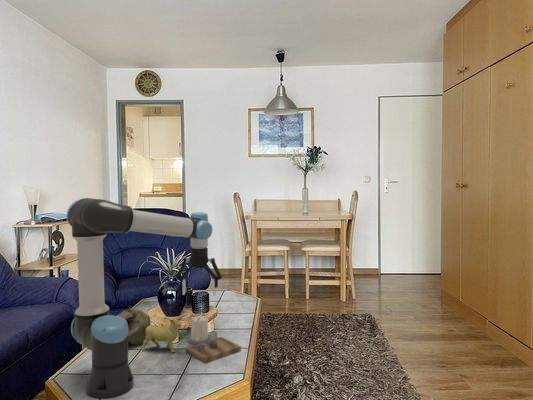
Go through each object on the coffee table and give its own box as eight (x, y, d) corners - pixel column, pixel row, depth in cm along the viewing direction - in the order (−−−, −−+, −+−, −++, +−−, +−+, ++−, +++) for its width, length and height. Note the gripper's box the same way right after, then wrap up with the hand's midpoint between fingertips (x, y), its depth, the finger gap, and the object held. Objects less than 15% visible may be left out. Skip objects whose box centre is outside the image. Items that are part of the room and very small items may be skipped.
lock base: (205, 363, 162) (205, 343, 162) (186, 352, 172) (185, 333, 172) (240, 351, 174) (240, 332, 174) (220, 341, 184) (221, 323, 184)
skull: (100, 317, 171) (133, 324, 168) (128, 298, 192) (158, 304, 190) (98, 352, 173) (131, 359, 170) (126, 329, 195) (156, 335, 192)
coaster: (195, 346, 178) (195, 344, 178) (182, 339, 186) (182, 337, 186) (216, 340, 186) (216, 338, 186) (202, 333, 194) (202, 331, 194)
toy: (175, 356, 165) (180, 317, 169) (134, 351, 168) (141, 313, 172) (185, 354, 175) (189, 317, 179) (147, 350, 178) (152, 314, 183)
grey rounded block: (193, 335, 190) (193, 315, 189) (208, 335, 190) (208, 315, 189) (189, 342, 181) (189, 321, 181) (205, 342, 181) (205, 321, 181)
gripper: (228, 246, 188) (227, 292, 188) (173, 245, 188) (173, 291, 189) (226, 248, 180) (225, 297, 181) (169, 248, 181) (169, 296, 182)
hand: (199, 294), depth 185 cm, fingers open, 13 cm apart
